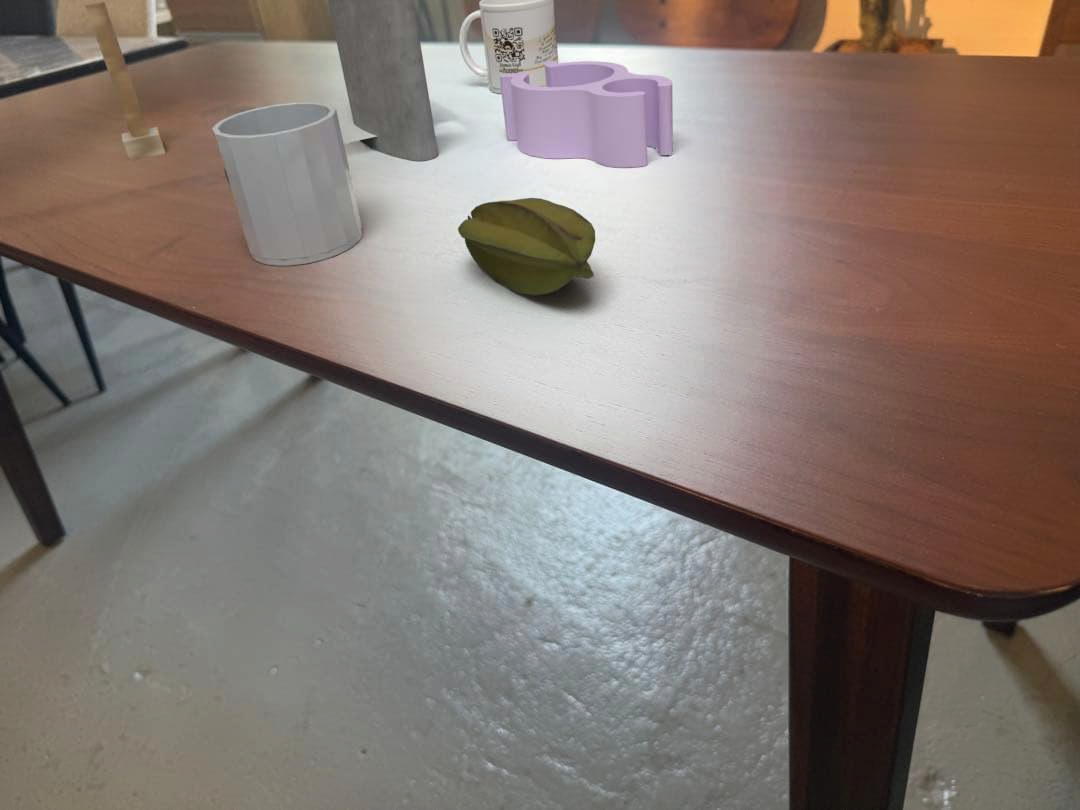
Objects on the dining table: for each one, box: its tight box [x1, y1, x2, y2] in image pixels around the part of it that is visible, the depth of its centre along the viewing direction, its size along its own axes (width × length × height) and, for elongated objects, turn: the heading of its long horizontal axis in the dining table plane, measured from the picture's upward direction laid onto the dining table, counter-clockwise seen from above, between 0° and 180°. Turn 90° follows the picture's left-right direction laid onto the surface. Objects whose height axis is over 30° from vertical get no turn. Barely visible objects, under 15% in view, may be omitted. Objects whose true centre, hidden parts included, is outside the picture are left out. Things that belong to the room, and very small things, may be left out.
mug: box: [458, 0, 559, 95], centre depth 116 cm, size 10×12×11 cm
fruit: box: [457, 197, 596, 296], centre depth 64 cm, size 11×12×7 cm
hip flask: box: [327, 0, 439, 162], centre depth 94 cm, size 16×4×20 cm, turn 38°
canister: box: [211, 101, 363, 267], centre depth 74 cm, size 10×10×11 cm
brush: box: [84, 0, 166, 161], centre depth 97 cm, size 4×4×18 cm
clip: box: [500, 60, 674, 169], centre depth 92 cm, size 20×12×7 cm, turn 41°
